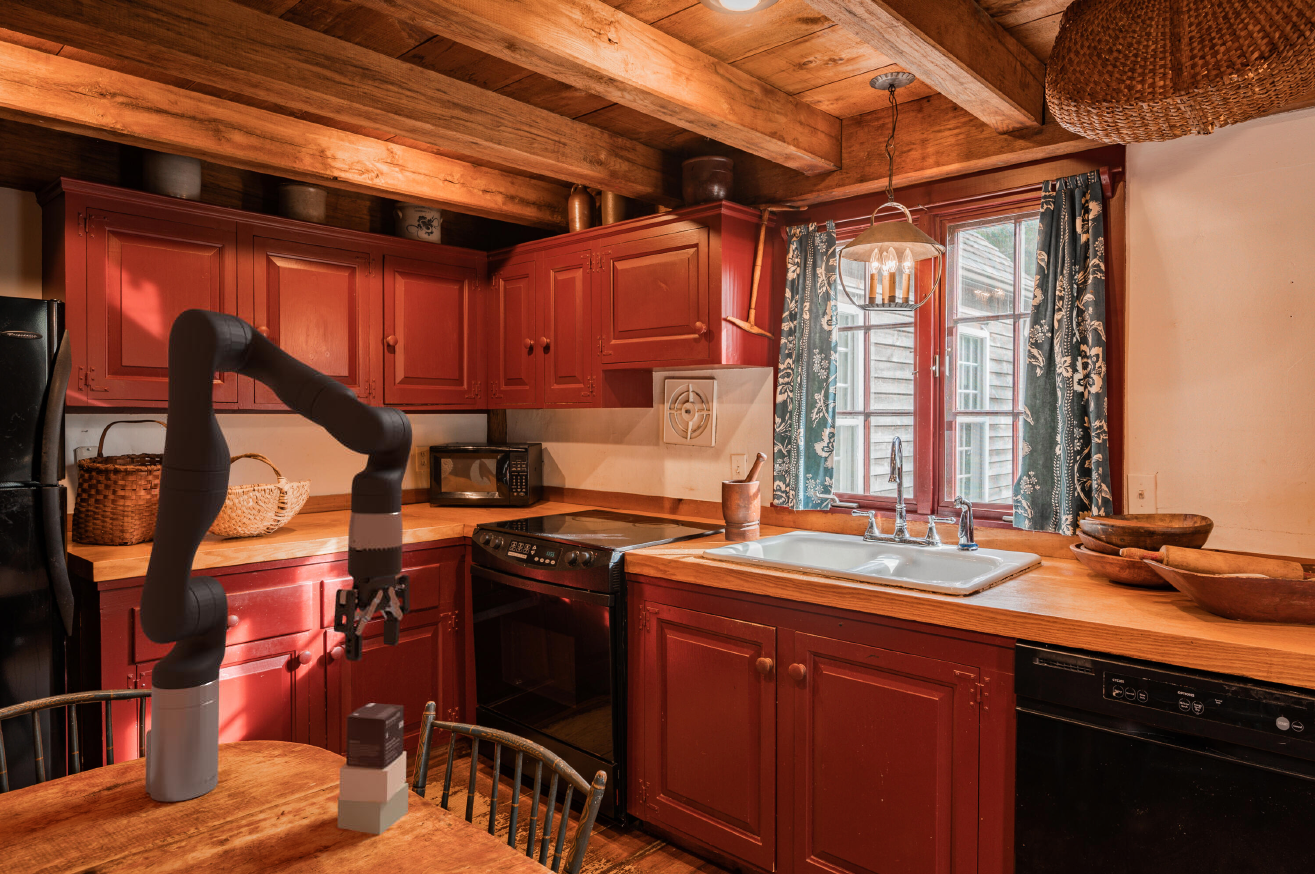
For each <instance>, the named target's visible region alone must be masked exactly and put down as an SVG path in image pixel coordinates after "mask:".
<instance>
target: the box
mask: <svg viewBox="0 0 1315 874" xmlns="http://www.w3.org/2000/svg"><path fill="white" fill-rule="evenodd" d="M403 751H404V705H401V704H387V703H386V704H385V703H375V702H374V703H371V702H370V703H369V702H368V703H366V704H365V705H363V706H361V707H358V708H357V709H356V710H354V711H353V712H351V713H349V715H347V717H346V751H345V752H346V753H345V755H346V758H345V759H346V761H345V764H346V765H347V766H355V767H369V768H377V769H378V768H379V769H384V768H386V767H387V766H388V765H390V764H391V763H392V762H393V761H395V760H396V759H397V758H398V757H399V756H400V755H402V754H403Z"/></svg>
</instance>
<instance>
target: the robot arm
mask: <svg viewBox="0 0 1315 874" xmlns="http://www.w3.org/2000/svg"><path fill="white" fill-rule="evenodd" d="M167 348H168V349H167V351H168V352H167V357H168V358H167V368H168V369H167V370H168V371H167V372H168V373H167V374H168V378H167V379H168V382H167V383H168V387H167V390H168V391H167V392H168V394H167V395H168V397H167V399H168V400H167V412H166V413H167V414H166V429H165V439H164V449H163V455H162V462H161V466H160V467H161V469H160V477H159V478H160V479H159V489H158V490H159V491H158V502H157V503H158V504H157V511H156V513H157V514H156V519H155V525H154V533H153V541H152V546H151V552H150V557H149V560H148V563H147V564H148V565H147V570H146V573H145V578H144V582H143V586H142V592H141V597H140V603H139V622H140V627H141V630H142V632H143V634H144V635H145V637H146V638H147V639H148V640H149V641H151V643H154V644H158V645H164V644H170V643H171V644H172V643H175V644H174V645H173V647H172V649H171V650H170V651H169V652H168V653H167V654H166V655H165V656H164V657H162V658H161V659H160V660H159V661H157V663H155V664H154V666H153V668H152V670H151V696H150V697H151V699H150V700H151V702H150V703H151V707H150V708H151V709H150V713H151V714H150V729H148V731H146V733H145V781H144V782H145V786H144V788H145V790H144V792H145V793H148V794H149V796H150V797H151V799H153V800H155V801H159V802H179V801H186V800H190V799H193V798H197V797H200V796H203V795H204V794H207V793H210V792H211V791H213V789H215V788H216V787H217V786H218V783H219V740H220V739H219V737H220V735H219V733H220V732H219V728H220V726H219V724H220V719H219V718H220V712H219V711H220V669H221V667H222V666H221V665H222V663H223V661H224V658H225V655H226V645H227V633H228V632H227V631H228V618H229V605H228V603H229V602H228V598H227V594H226V591H225V588H224V587H223V585H222V584H221V582H220V581H219V580H217V579H216V578H215V577H213V576H209V575H197V576H196V575H195V576H192V569H193V563H194V561H195V560H194V559H195V556H196V554H197V550H198V549H199V547H200V545H201V544H202V541H203V540H204V538H205V536H206V535H207V534H208V532H209V530H210V529H211V527H212V526H213V525H214V523H215V521H216V520H217V518H218V517H219V515H220V513H221V511H222V509H223V507H224V505H225V503H226V499H227V496H228V491H229V483H230V481H229V480H230V473H231V461H232V460H231V459H232V458H231V452H230V449H229V446H228V445H229V444H228V442H227V441H226V438H225V435H224V432H223V431H222V429H221V426H220V424H219V422H218V418H217V416H216V413H215V409H214V402H213V393H214V381H215V380H214V379H215V373H235V374H238V375H241V376H244V377H246V378H250V379H252V380H255V381H258V382H259V383H262V384H264V385H265V387H266V386H267V387H268V388H269V389H270V390H271V391H272V392H273V393H274V394H275V396H276V397H277V398H278V399H279V401H281V403H283V405H285V406H286V407H287V408H288V409H290V410H292V411H293V412H295V413H297V414H298V415H300V416H301V417H303V418H305V419H307V420H308V421H310V422H312V423H314V424H316V425H318V426H320V427H322V428H323V429H325V430H326V432H327V433H328V434H330V436H332V438H334V439H335V440H336V441H337V442H339V444H341V445H342V446H344V447H345V448H347V449H349V450H351V451H352V452H355V453H357V454H360V455H366V456H368V457H367V462H366V465H365V468H364V469H363V470H361V471H359V472H358V473H356V474H355V475H354V476H353V479H352V480H351V481H352V482H351V490H350V493H351V498H350V502H351V503H350V517H349V518H350V519H349V524H348V538H347V539H348V540H347V544H348V545H347V574H348V575H349V576H351V578H352V579H353V581H352V586H351V588H348V589H343V588H339V589H337V590H336V592H335V603H334V606H335V607H334V615H333V616H334V618H333V619H334V620H333V631H334V633H335V632H336V633H341V634H344V637H345V639H344V641H345V642H344V644H345V645H344V646H345V647H344V655H345V659H346V660H348V661H351V662H358V661H361V660H362V658H363V636H364V635H363V630H364V628H365V625H366V623H367V622H368V621H370V620H371V618H372V617H373V614H376V613H378V612H379V611H380V612H381V613H382V615H383V617H384V618H385V619H384V620H383V644H384V645H385V646H392V647H394V646H398V644H399V643H400V642H399V639H400V625H401V624H400V623H401V622H400V621H402V619H403V616H404V614H409V612H410V609H411V608H410V606H411V605H410V601H411V600H410V597H411V595H410V576H409V575H408V574H401V572H402V569H403V532H404V530H403V527H404V525H403V518H402V517H403V516H402V500H403V498H402V497H403V496H402V495H403V489H402V488H403V487H402V485H403V481H404V476H405V474H406V471H407V467H408V463H409V459H410V454H411V451H412V445H413V428H412V423H411V421H410V419H409V417H408V416H407V414H406V413H405V412H403V410H401V409H399V408H396V407H389V406H375V405H374V406H373V405H370V404H367V403H364V402H362V401H361V400H359V399H358V397H357V394H356V392H355V391H353V390H352V389H351V388H349V386H347V385H345V384H344V383H341V382H340V381H337V380H335V379H334V378H333V377H330V376H329V375H327V374H324V373H323V372H321V371H319V370H317V369H316V368H313V367H311V366H309V365H308V364H306V363H304V362H302V361H300V360H299V359H297V358H296V357H294V356H292V355H290V354H289V353H288V352H286V351H285V350H284V349H282V348H280V347H279V346H277V345H276V344H275V343H274V342H272V341H271V340H270V339H269V338H268V337H266V336H265V335H264V334H263V333H261V332H260V331H259V330H258V329H257V328H255V326H253V325H251V324H250V323H248V322H247V321H246V320H244V319H243V318H241V317H239V316H238V315H237V316H236V315H233V314H230V313H225V312H220V311H219V312H218V311H213V310H208V309H202V308H201V309H200V308H189V309H186V310H185V309H184V311H182V312H180V313H179V315H178V316H177V317H176V318H175V319H174V321H173V323H172V326H171V329H170V333H169V337H168V347H167ZM400 599H401V600H402V604H401V603H400ZM344 616H345V622H343V621H344ZM356 620H357V622H356ZM355 622H356V624H355Z"/></svg>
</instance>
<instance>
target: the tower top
mask: <svg viewBox="0 0 1315 874" xmlns="http://www.w3.org/2000/svg"><path fill="white" fill-rule="evenodd" d="M406 781H407V751H404V750H403V754H402V755H400V756H399V757H398V758H397V759H396V760H395V761H393V762H392V763H391V764H390V765H388V766H387V767H386V768H384V769H379V768H378V769H377V768H369V767H355V766H347V765H346V763H344V764H343V765H342V766H341V767H339V788H338V789H339V794H338V797H339V800H347V801H367V802H388V801H389V800H390V798H391V797H392V796H393V795H394V794H395V793H396V792H397V791H398V789H399V788H400V787H401V786H402V785H403V784H404V783H406Z"/></svg>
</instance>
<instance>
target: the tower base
mask: <svg viewBox="0 0 1315 874" xmlns="http://www.w3.org/2000/svg"><path fill="white" fill-rule="evenodd" d="M408 813H409V783H408V782H405V783H404V784H403V785H402V786H401V787H400V788H399V789H398V791H397V792H396V793H395V794H394V795H393V796H392V797H391V798H390V800H389V801H388V802H367V801H347V800H339V796H338V797H337V828H338V829H344V830H349V831H350V830H351V831H357V832H362V833H368V834H373V835H378V836H381V835H382V834H383V833H384V832H386V831H387V830H388V829H390V828H391V827H392V826H393V825H394V824H395V823H397V822H398V821H399V820H400V819H401V818H402V817H404V816H406V814H408Z"/></svg>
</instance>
